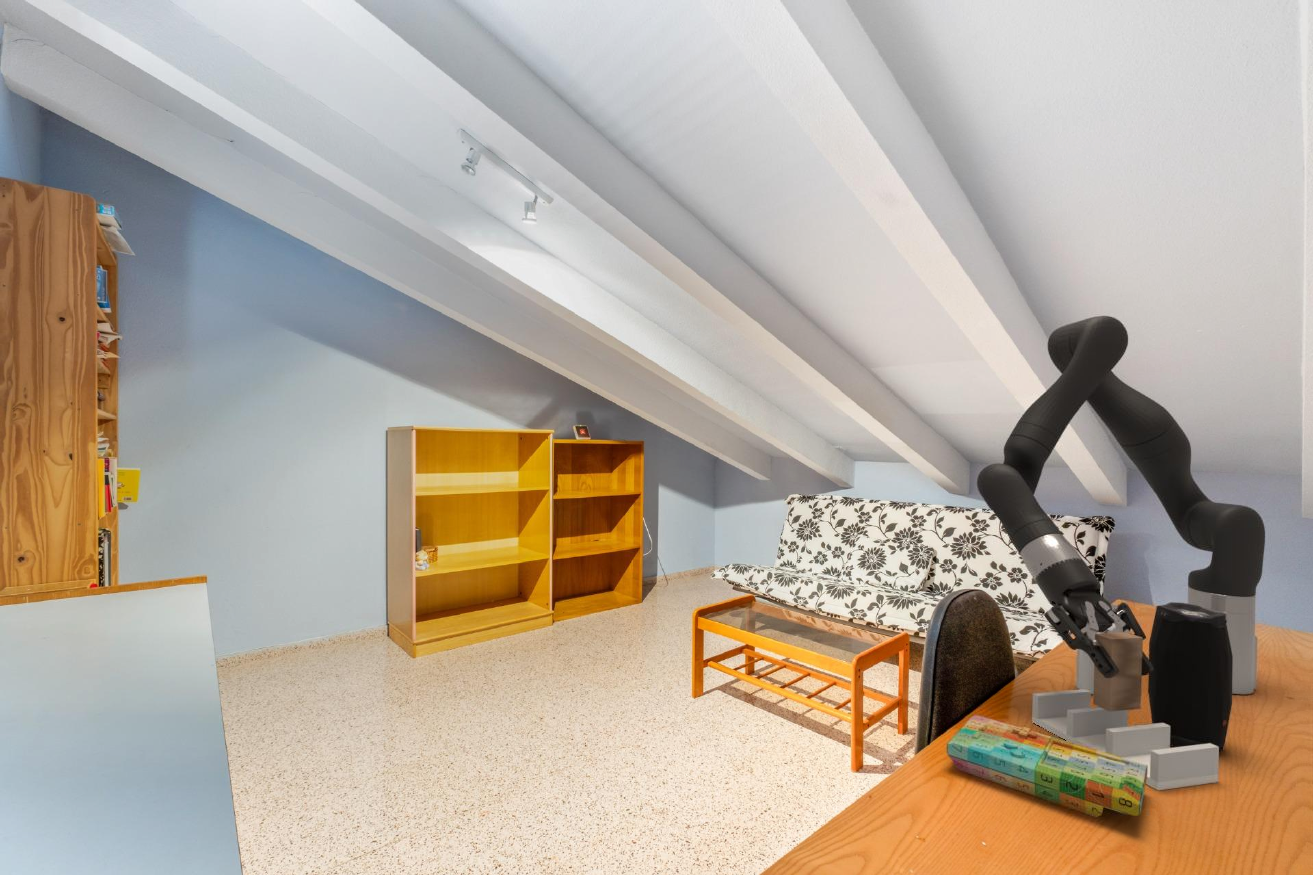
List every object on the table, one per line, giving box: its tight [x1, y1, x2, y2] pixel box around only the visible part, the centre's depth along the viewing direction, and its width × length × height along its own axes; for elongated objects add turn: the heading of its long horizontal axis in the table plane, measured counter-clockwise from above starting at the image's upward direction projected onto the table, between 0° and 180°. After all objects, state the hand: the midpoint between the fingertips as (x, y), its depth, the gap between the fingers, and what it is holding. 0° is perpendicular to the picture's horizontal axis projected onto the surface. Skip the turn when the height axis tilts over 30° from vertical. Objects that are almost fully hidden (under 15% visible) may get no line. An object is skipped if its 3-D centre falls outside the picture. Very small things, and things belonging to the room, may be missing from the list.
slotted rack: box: [1031, 689, 1220, 791], centre depth 88 cm, size 10×19×4 cm, turn 14°
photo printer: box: [1075, 623, 1116, 695], centre depth 112 cm, size 10×4×12 cm, turn 123°
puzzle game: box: [946, 714, 1148, 818], centre depth 79 cm, size 12×5×20 cm
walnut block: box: [1092, 632, 1144, 712], centre depth 88 cm, size 6×2×10 cm, turn 104°
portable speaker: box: [1147, 601, 1233, 751], centre depth 91 cm, size 9×9×20 cm
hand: (1130, 674), depth 87 cm, fingers closed on walnut block, 5 cm apart
